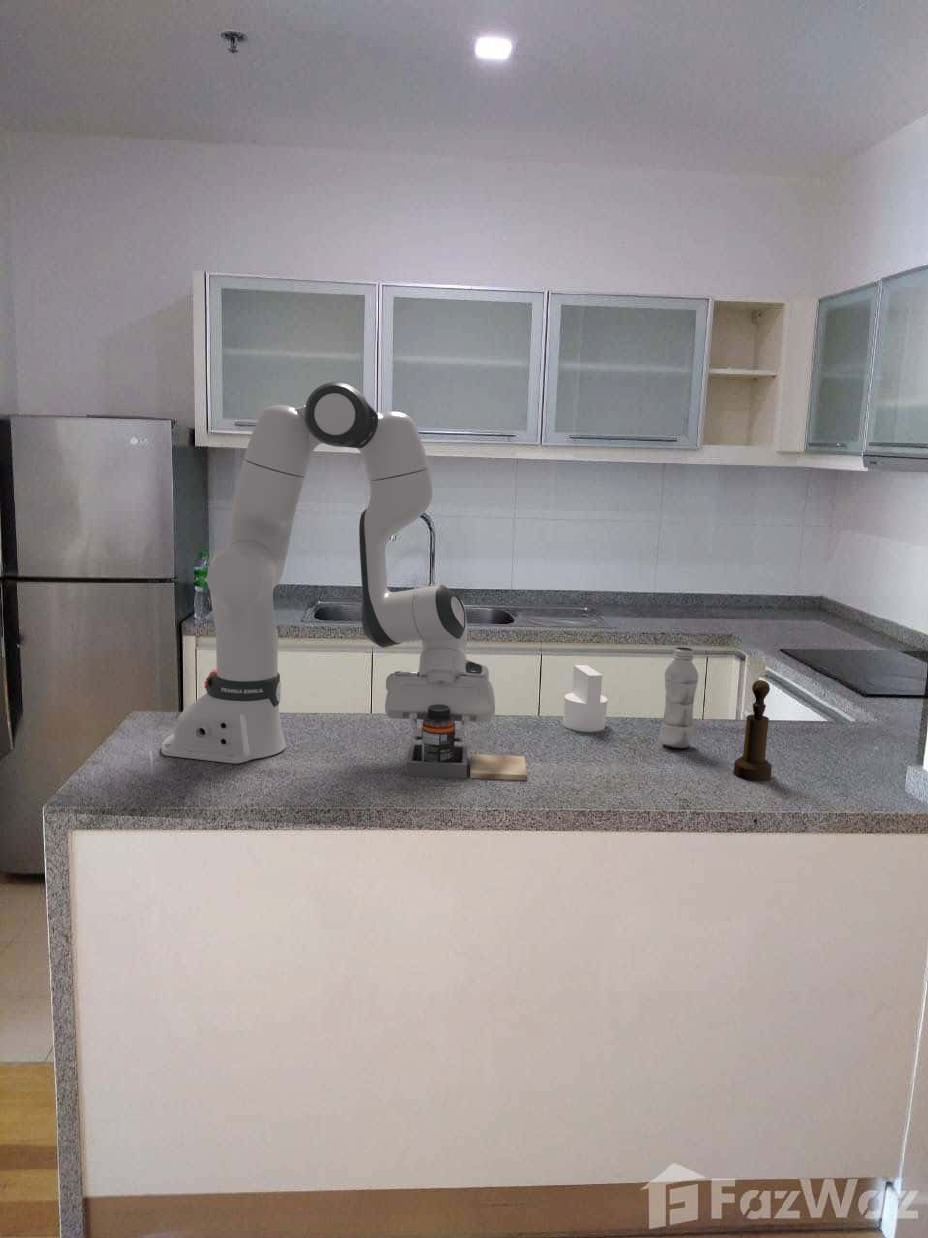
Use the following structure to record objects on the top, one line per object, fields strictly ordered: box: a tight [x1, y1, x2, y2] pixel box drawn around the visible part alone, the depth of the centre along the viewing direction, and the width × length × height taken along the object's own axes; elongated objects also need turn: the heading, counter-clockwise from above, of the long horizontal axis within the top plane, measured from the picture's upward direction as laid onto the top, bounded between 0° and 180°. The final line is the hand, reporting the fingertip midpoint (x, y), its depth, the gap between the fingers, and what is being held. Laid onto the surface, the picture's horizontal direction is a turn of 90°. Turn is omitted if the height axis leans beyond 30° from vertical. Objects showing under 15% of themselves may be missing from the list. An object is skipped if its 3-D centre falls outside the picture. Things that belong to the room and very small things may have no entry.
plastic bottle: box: [659, 646, 699, 749], centre depth 189 cm, size 6×7×20 cm
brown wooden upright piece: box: [733, 679, 773, 782], centre depth 175 cm, size 7×6×18 cm
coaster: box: [469, 753, 528, 781], centre depth 173 cm, size 10×10×1 cm
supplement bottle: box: [420, 704, 456, 763], centre depth 173 cm, size 6×6×11 cm
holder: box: [405, 742, 468, 779], centre depth 173 cm, size 11×11×2 cm
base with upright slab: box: [562, 664, 608, 733], centre depth 202 cm, size 9×9×12 cm
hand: (438, 739), depth 172 cm, fingers closed on supplement bottle, 6 cm apart
